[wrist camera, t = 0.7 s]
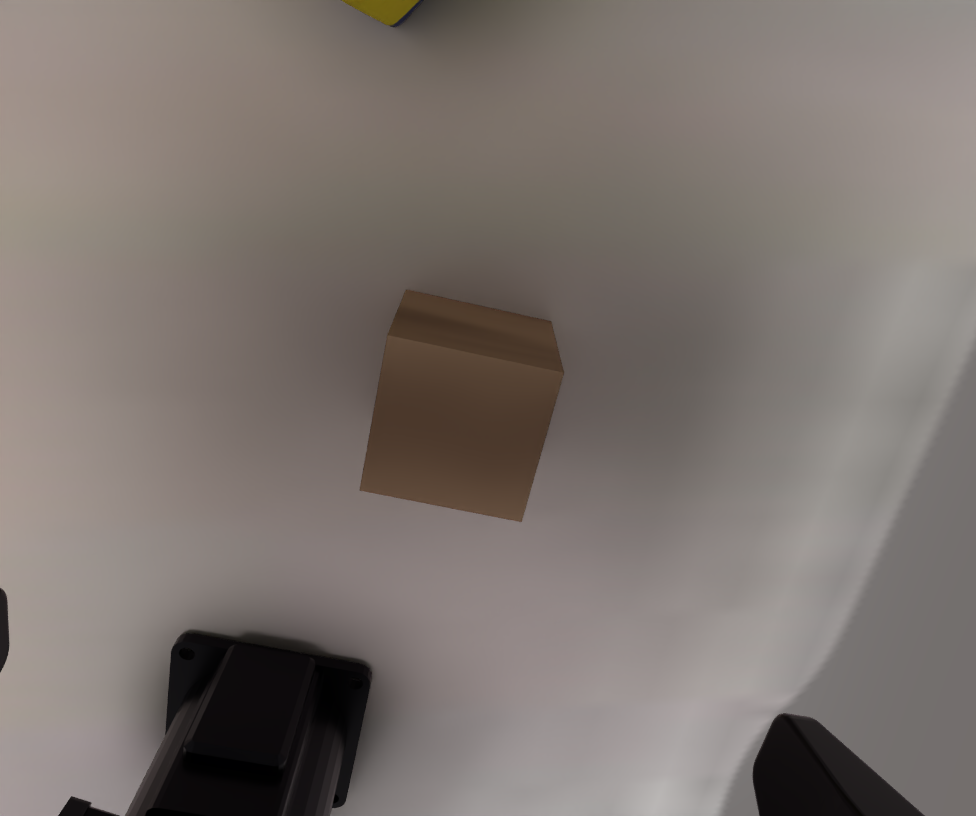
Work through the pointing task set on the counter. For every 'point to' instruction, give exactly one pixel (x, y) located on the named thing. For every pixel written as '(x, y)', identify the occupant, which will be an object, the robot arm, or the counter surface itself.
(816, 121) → the counter surface
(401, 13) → the supplement box
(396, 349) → the walnut cube
